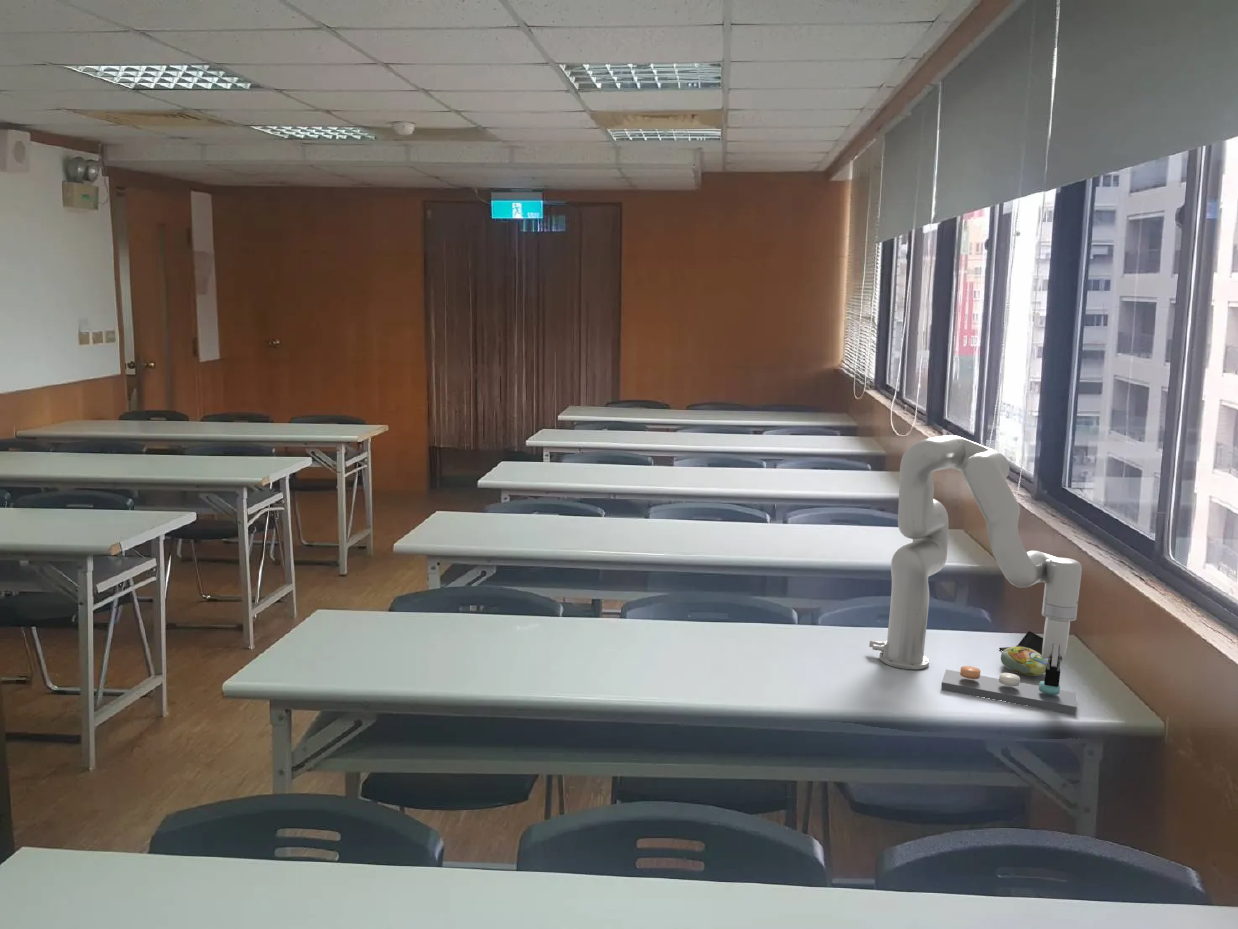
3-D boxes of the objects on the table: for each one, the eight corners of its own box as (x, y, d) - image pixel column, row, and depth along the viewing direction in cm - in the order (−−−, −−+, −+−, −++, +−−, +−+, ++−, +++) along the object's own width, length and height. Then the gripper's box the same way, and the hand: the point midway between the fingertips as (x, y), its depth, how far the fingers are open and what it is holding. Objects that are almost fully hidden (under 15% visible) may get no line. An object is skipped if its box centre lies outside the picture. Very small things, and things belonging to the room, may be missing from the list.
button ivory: (998, 684, 243) (999, 677, 243) (999, 677, 248) (1000, 671, 247) (1018, 687, 242) (1019, 681, 241) (1019, 681, 246) (1020, 675, 246)
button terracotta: (959, 676, 247) (959, 670, 247) (960, 670, 251) (961, 664, 251) (979, 680, 245) (979, 674, 245) (980, 674, 249) (981, 668, 249)
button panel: (941, 690, 246) (941, 682, 246) (945, 676, 255) (946, 669, 255) (1075, 715, 235) (1076, 707, 234) (1074, 700, 244) (1075, 692, 244)
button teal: (1038, 692, 240) (1039, 686, 240) (1038, 686, 244) (1039, 679, 244) (1059, 696, 238) (1060, 689, 238) (1059, 689, 242) (1060, 683, 242)
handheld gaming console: (993, 645, 277) (1017, 617, 277) (1006, 658, 281) (1029, 630, 281) (1023, 666, 267) (1048, 637, 267) (1036, 678, 271) (1060, 650, 271)
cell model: (1040, 653, 269) (1057, 651, 254) (1033, 681, 268) (1049, 681, 253) (999, 640, 271) (1013, 637, 257) (992, 668, 270) (1005, 667, 255)
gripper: (1042, 600, 246) (1035, 672, 249) (1041, 616, 233) (1033, 692, 235) (1076, 605, 243) (1068, 677, 246) (1077, 621, 230) (1068, 698, 232)
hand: (1051, 684), depth 241 cm, fingers closed
